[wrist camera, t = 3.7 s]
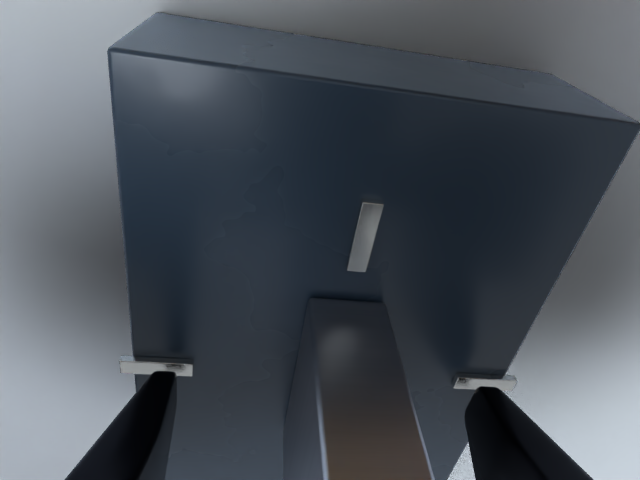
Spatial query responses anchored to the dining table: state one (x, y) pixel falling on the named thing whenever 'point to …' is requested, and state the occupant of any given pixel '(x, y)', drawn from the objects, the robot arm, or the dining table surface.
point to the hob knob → (351, 400)
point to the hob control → (337, 219)
